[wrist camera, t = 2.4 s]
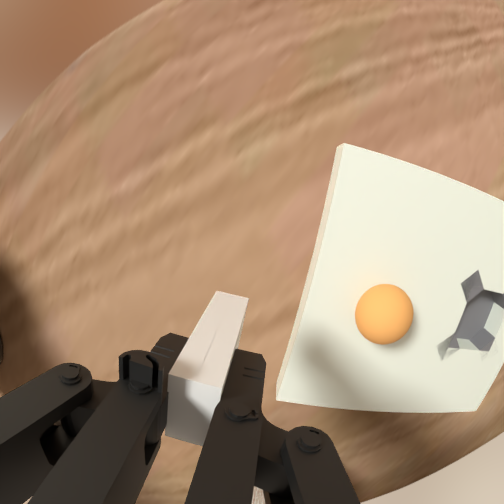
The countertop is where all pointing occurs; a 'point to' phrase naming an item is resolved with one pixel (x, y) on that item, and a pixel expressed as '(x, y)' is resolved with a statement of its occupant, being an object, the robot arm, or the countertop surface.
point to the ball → (384, 314)
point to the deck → (409, 280)
